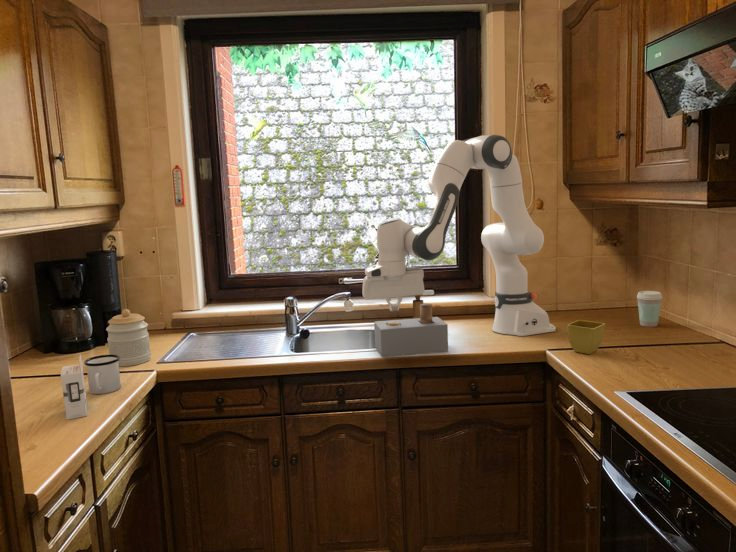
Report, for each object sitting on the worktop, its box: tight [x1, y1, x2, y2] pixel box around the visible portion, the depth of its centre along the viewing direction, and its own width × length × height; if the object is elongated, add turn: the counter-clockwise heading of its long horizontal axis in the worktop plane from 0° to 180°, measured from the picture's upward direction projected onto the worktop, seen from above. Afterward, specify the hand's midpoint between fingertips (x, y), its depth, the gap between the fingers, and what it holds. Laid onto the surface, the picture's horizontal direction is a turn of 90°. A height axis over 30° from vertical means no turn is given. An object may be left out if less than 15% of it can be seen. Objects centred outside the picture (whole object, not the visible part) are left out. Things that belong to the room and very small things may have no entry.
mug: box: [83, 354, 122, 395], centre depth 174 cm, size 12×10×9 cm
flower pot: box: [566, 319, 606, 355], centre depth 193 cm, size 9×9×9 cm
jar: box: [105, 308, 152, 367], centre depth 203 cm, size 13×13×18 cm
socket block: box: [373, 316, 449, 358], centre depth 204 cm, size 22×12×9 cm, turn 99°
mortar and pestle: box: [412, 295, 424, 319], centre depth 230 cm, size 7×6×18 cm
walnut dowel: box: [420, 303, 433, 324], centre depth 204 cm, size 4×4×9 cm
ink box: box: [60, 352, 88, 421], centre depth 157 cm, size 8×5×15 cm, turn 24°
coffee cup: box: [636, 290, 663, 328], centre depth 223 cm, size 8×9×12 cm
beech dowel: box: [388, 322, 400, 326], centre depth 203 cm, size 4×4×9 cm
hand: (394, 310), depth 202 cm, fingers closed
